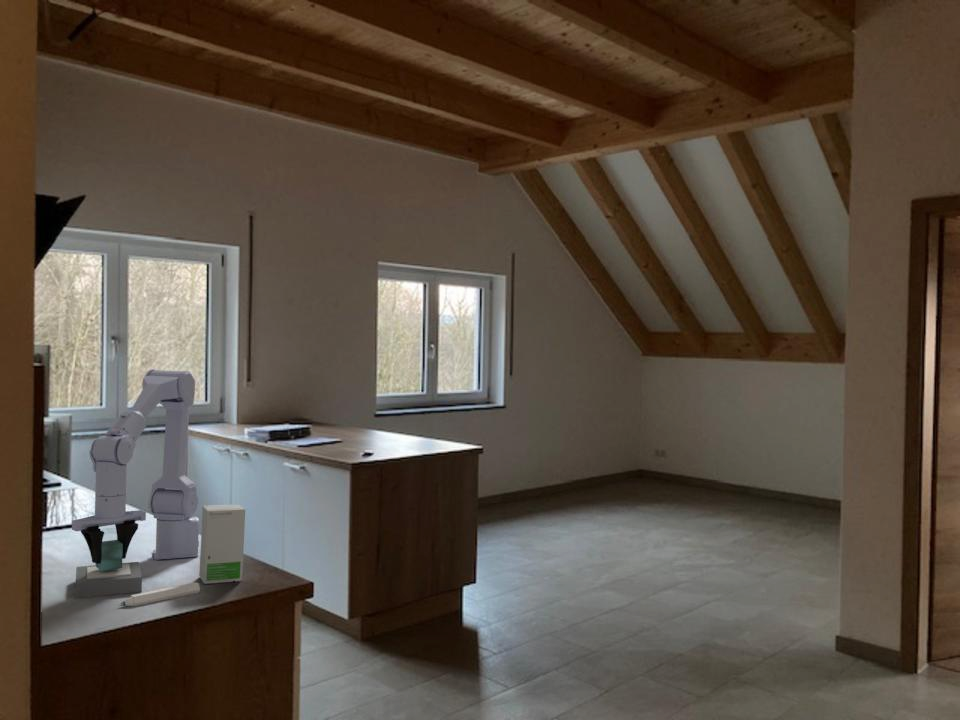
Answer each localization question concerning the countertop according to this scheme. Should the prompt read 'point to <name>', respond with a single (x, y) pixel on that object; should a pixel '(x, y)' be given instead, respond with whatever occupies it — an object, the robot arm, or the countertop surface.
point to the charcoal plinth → (108, 580)
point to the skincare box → (222, 543)
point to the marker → (161, 594)
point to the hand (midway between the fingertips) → (109, 560)
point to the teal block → (110, 555)
